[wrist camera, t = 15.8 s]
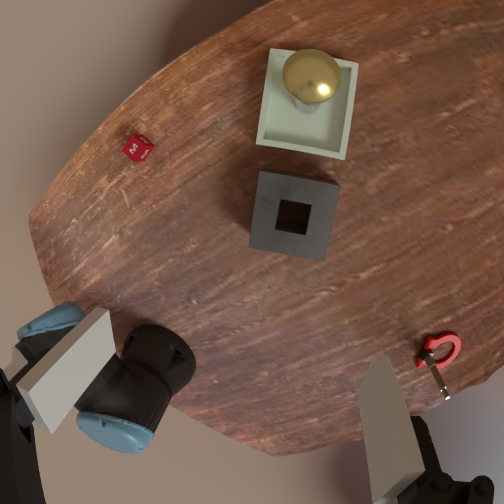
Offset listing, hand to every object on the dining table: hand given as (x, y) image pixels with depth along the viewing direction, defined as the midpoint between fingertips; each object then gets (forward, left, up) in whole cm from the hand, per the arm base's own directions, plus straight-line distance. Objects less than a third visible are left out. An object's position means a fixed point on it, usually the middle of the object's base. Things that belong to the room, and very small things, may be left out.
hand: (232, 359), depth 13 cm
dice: (-22, +7, -31) cm, 39 cm away
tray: (+1, +16, -31) cm, 35 cm away
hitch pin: (+1, +16, -30) cm, 34 cm away
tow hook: (+35, -19, -31) cm, 50 cm away
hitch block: (+2, +1, -31) cm, 31 cm away
